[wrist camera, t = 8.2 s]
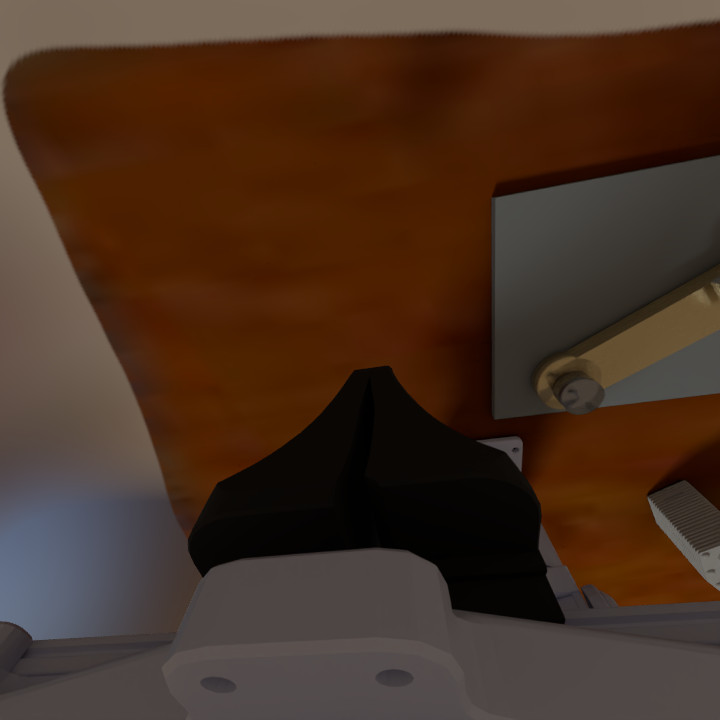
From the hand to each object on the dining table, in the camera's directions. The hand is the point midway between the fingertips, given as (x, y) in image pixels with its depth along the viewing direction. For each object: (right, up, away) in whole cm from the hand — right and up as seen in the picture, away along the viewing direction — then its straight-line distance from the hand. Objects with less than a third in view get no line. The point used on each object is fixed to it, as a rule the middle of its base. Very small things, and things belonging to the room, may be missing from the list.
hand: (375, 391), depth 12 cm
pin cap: (+12, -1, +8) cm, 14 cm away
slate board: (+15, +5, +8) cm, 18 cm away
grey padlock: (+26, -11, +15) cm, 32 cm away
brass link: (+15, +2, +8) cm, 17 cm away
